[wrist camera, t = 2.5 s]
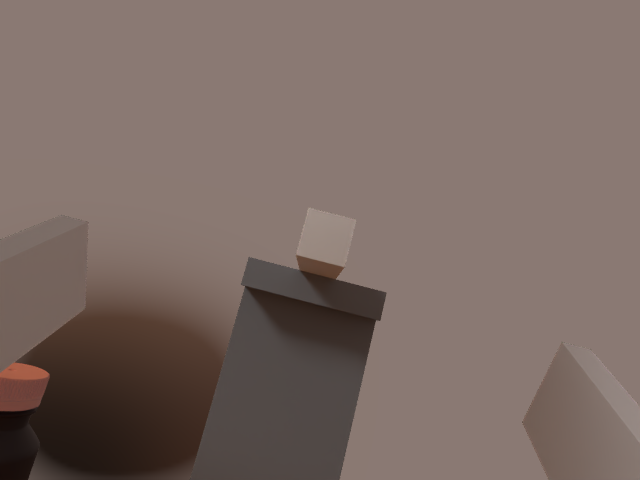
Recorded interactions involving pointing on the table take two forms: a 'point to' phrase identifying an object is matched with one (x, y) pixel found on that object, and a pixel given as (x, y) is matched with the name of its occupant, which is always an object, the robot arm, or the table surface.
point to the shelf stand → (289, 377)
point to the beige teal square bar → (324, 243)
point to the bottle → (19, 418)
